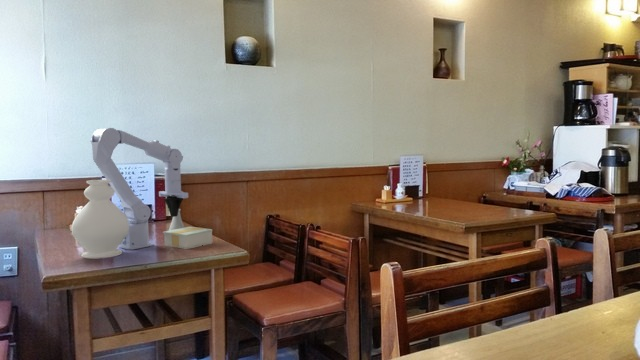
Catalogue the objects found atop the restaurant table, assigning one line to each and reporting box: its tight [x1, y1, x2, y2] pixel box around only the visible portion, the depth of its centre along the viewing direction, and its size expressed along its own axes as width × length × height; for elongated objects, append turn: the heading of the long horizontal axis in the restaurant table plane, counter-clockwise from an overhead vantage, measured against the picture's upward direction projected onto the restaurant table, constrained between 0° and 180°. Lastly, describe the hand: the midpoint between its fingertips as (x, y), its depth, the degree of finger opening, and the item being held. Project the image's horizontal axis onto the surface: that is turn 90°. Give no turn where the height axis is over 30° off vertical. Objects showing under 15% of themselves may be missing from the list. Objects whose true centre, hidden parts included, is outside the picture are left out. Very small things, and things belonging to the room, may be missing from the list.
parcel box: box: [163, 230, 213, 250], centre depth 190 cm, size 12×12×4 cm
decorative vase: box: [71, 179, 129, 260], centre depth 174 cm, size 18×18×25 cm
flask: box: [168, 208, 185, 231], centre depth 215 cm, size 7×7×10 cm
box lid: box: [162, 226, 213, 237], centre depth 190 cm, size 12×12×1 cm
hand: (174, 216), depth 197 cm, fingers closed
